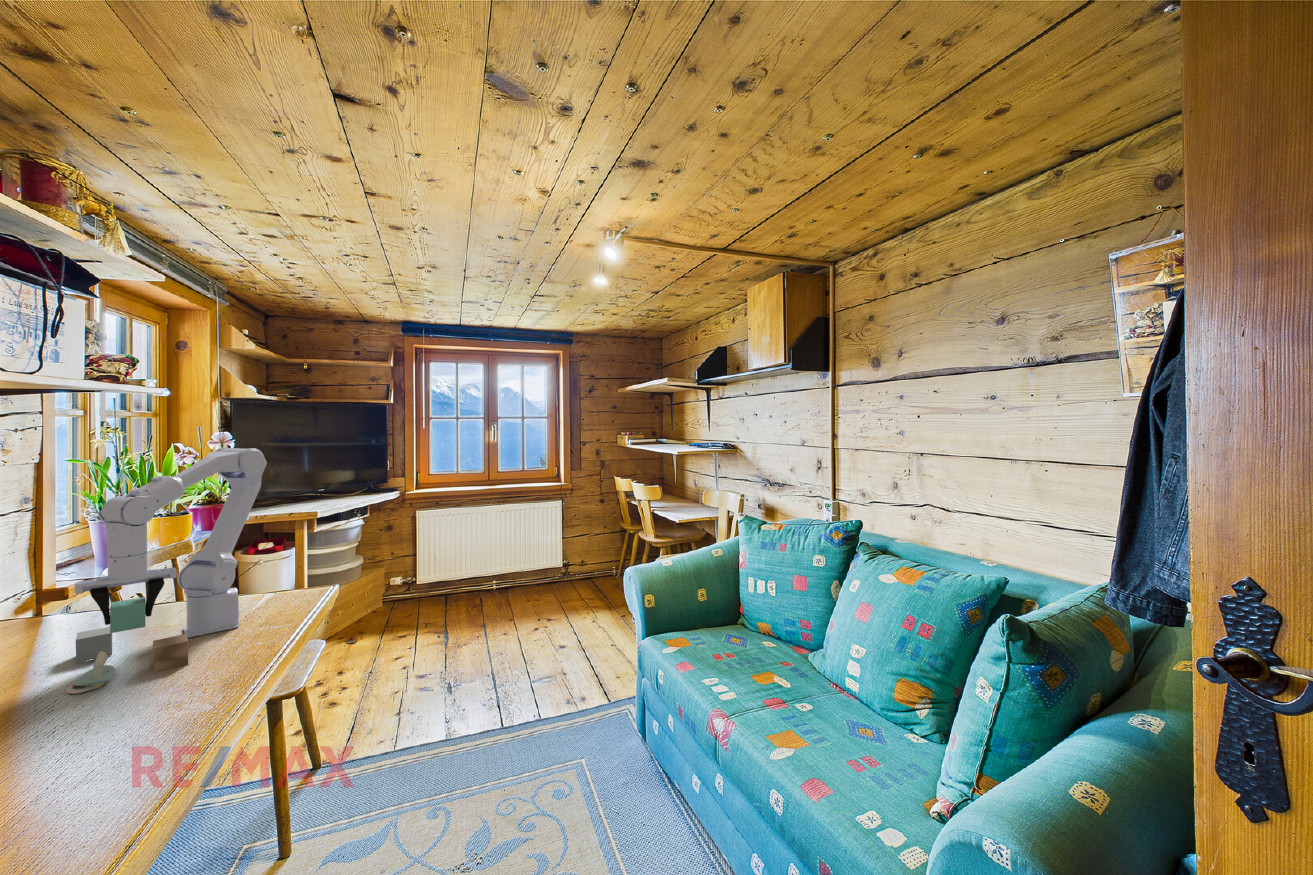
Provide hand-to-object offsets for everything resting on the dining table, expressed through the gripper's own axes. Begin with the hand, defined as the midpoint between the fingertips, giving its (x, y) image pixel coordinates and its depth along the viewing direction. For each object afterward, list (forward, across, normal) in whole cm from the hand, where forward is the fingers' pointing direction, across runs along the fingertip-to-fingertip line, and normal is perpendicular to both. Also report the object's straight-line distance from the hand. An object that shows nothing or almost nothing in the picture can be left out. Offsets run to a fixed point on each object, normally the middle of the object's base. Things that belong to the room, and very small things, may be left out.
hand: (128, 619), depth 106 cm
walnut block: (+8, -5, +10) cm, 14 cm away
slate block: (+8, +4, -7) cm, 12 cm away
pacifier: (+9, +6, +10) cm, 14 cm away
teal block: (+2, 0, 0) cm, 2 cm away
